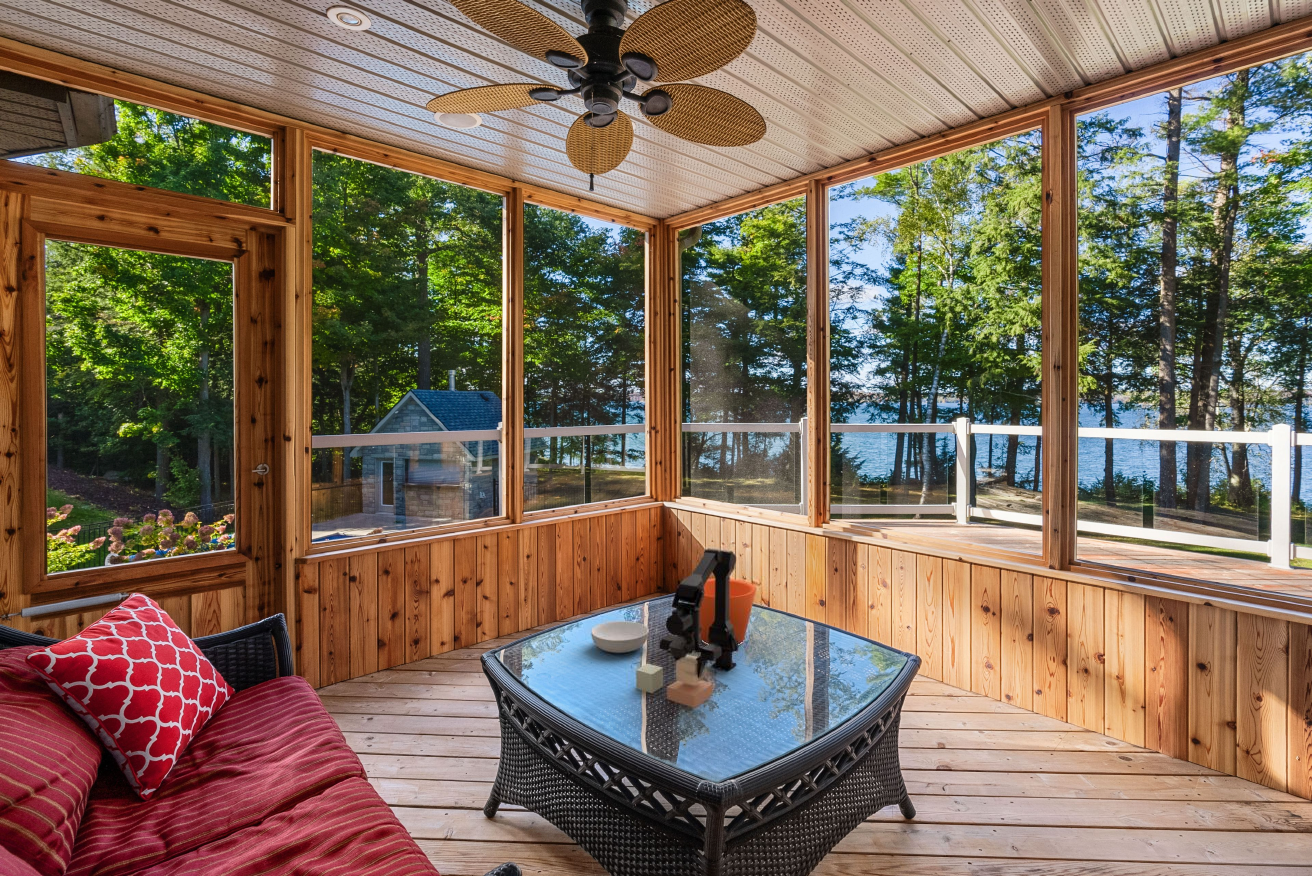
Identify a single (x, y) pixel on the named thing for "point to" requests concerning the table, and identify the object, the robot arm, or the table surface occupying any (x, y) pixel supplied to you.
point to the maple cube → (688, 670)
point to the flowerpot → (738, 607)
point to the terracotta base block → (690, 693)
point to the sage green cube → (649, 678)
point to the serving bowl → (619, 636)
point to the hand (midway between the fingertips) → (690, 675)
